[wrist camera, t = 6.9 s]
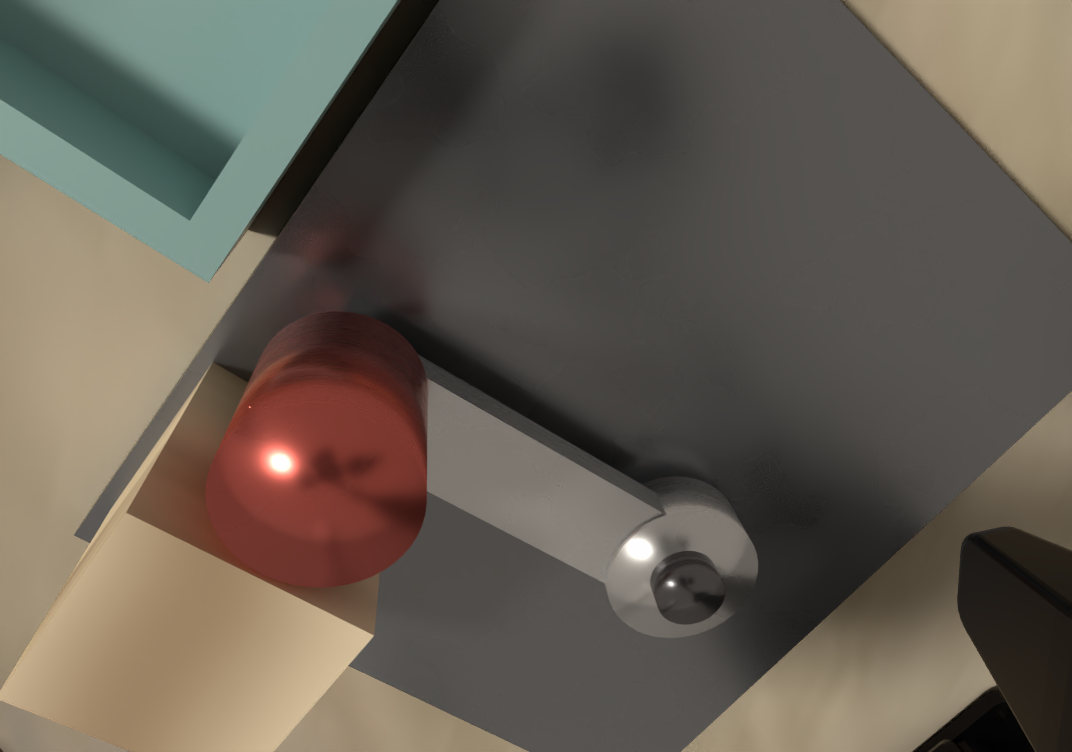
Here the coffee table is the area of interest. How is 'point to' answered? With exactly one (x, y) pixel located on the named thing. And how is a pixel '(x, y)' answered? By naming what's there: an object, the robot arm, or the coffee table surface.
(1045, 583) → the robot arm
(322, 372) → the crank
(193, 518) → the block
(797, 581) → the bedplate
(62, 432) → the coffee table surface
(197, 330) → the coffee table surface
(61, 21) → the tray
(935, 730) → the coffee table surface
